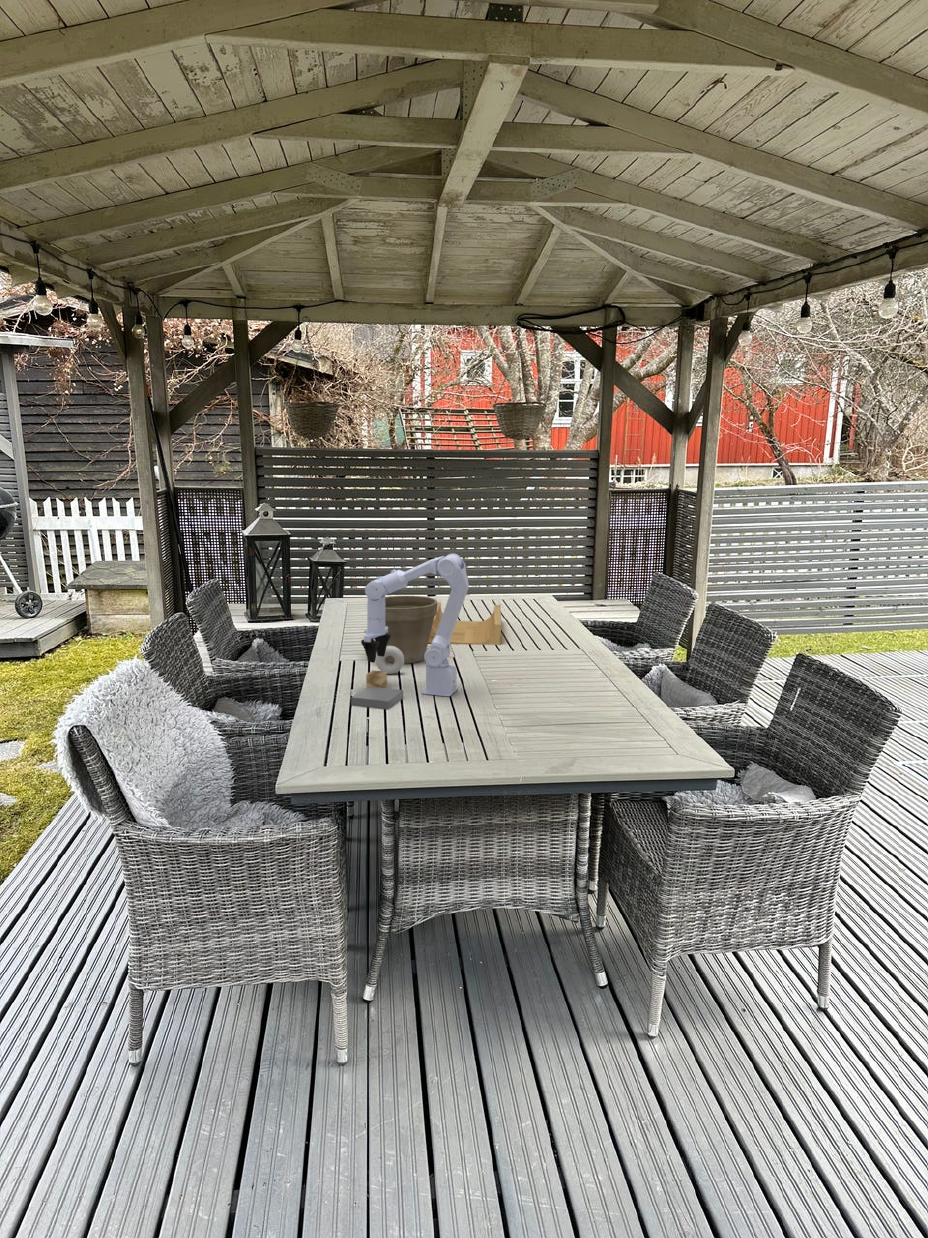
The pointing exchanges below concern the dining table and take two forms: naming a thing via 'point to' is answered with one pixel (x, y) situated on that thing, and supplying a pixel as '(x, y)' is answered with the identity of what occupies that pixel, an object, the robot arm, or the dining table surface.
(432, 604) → the plant pot
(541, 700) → the dining table surface
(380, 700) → the slate block
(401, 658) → the donut
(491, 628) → the skate ramp
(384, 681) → the oak cube
